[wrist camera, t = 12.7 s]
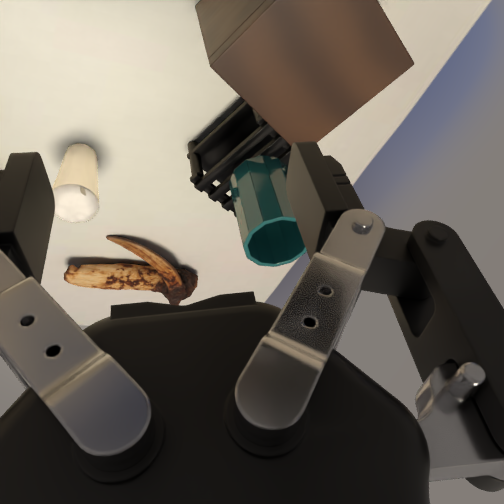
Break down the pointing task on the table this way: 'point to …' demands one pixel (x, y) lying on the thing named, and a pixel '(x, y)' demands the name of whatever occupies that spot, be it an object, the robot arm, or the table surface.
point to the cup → (265, 212)
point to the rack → (233, 151)
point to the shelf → (302, 58)
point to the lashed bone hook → (136, 274)
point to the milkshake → (77, 185)
